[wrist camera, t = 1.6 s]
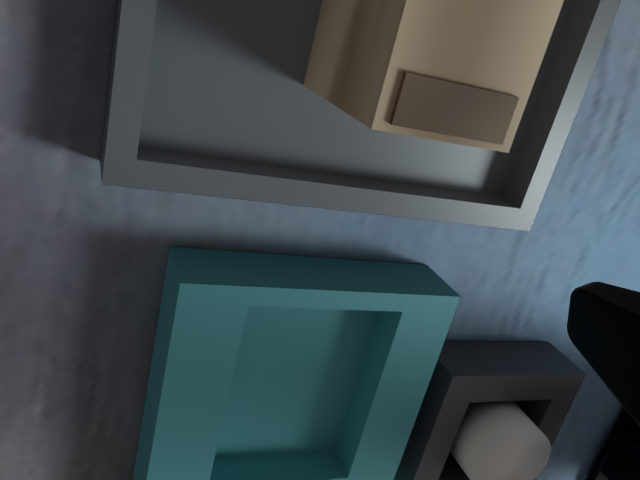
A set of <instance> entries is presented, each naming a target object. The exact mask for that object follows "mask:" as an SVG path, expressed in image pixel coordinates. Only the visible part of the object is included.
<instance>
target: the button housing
mask: <svg viewBox="0 0 640 480" xmlns="http://www.w3.org/2000/svg"><path fill="white" fill-rule="evenodd" d="M585 375H586V374H585V373H584V372H583V371H581V370H580V369H579V368H578V367H577V366H576V365H574V364H573V363H572V362H571V361H570V360H569V359H567V358H566V357H565V356H564V355H563V354H562V353H560V352H559V351H558V350H557V349H556V348H555V347H554V346H552V345H551V344H550V343H549V342H530V341H449V340H445V341H444V344H443V347H442V349H441V352H440V355H439V358H438V360H437V363H436V366H435V368H434V371H433V374H432V377H431V379H430V382H429V385H428V387H427V390H426V393H425V396H424V398H423V401H422V404H421V407H420V409H419V412H418V415H417V417H416V420H415V423H414V426H413V428H412V431H411V434H410V437H409V439H408V442H407V445H406V447H405V450H404V453H403V456H402V458H401V461H400V464H399V466H398V469H397V472H396V475H395V477H394V480H470V479H469V478H468V476H467V475H466V474H465V472H464V471H463V469H462V468H461V467H460V465H459V464H458V462H457V461H456V460H455V458H454V457H453V455H452V454H451V453H450V450H451V447H452V445H453V442H454V440H455V437H456V435H457V432H458V430H459V427H460V425H461V422H462V420H463V417H464V415H465V412H466V410H467V407H468V405H469V403H472V402H497V401H514V403H515V404H516V405H517V406H518V407H519V408H520V409H521V410H522V411H523V412H524V413H525V414H526V415H527V416H528V417H529V419H530V420H531V421H532V422H533V423H534V424H535V425H536V426H537V427H538V428H539V429H540V430H541V431H542V432H543V433H544V435H545V436H546V437H547V438H548V439H549V441H550V444H551V446H552V444H553V442H554V440H555V438H556V435H557V433H558V431H559V429H560V427H561V425H562V423H563V421H564V419H565V417H566V415H567V413H568V410H569V408H570V406H571V404H572V402H573V400H574V398H575V396H576V394H577V392H578V390H579V387H580V385H581V383H582V381H583V379H584V377H585Z"/></svg>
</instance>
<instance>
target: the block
mask: <svg viewBox="0 0 640 480" xmlns="http://www.w3.org/2000/svg"><path fill="white" fill-rule="evenodd" d="M563 2H564V0H322V5H321V9H320V14H319V18H318V22H317V27H316V31H315V36H314V40H313V45H312V49H311V54H310V58H309V62H308V67H307V71H306V76H305V80H304V86H305V87H307V88H309V89H310V90H312V91H313V92H315V93H316V94H318V95H319V96H321V97H322V98H324V99H326V100H327V101H329V102H330V103H332V104H333V105H335V106H336V107H338V108H339V109H341V110H342V111H344V112H346V113H347V114H349V115H350V116H352V117H353V118H355V119H356V120H358V121H359V122H361V123H363V124H364V125H366V126H367V127H369V128H370V129H373V130H379V131H385V132H390V133H396V134H402V135H408V136H413V137H419V138H425V139H431V140H436V141H442V142H448V143H454V144H459V145H465V146H471V147H477V148H482V149H488V150H494V151H500V152H506V153H509V150H510V148H511V145H512V142H513V139H514V137H515V134H516V131H517V128H518V126H519V123H520V120H521V117H522V115H523V112H524V109H525V106H526V104H527V101H528V98H529V95H530V93H531V90H532V87H533V84H534V82H535V79H536V76H537V73H538V71H539V68H540V65H541V62H542V60H543V57H544V54H545V52H546V49H547V46H548V43H549V41H550V38H551V35H552V32H553V30H554V27H555V24H556V21H557V19H558V16H559V13H560V10H561V8H562V5H563Z"/></svg>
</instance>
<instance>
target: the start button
mask: <svg viewBox="0 0 640 480" xmlns="http://www.w3.org/2000/svg"><path fill="white" fill-rule="evenodd" d="M450 453H451V454H452V455H453V457H454V458H455V460H456V461H457V462H458V464H459V465H460V467H461V468H462V469H463V471H464V472H465V474H466V475H467V476H468V478H469V479H470V480H535V479H536V478H537V477H538V476H539V475H540V474H541V472H542V471H543V469H544V468H545V466H546V464H547V462H548V460H549V457H550V453H551V444H550V441H549V439H548V438H547V437H546V436H545V435H544V433H543V432H542V431H541V430H540V429H539V428H538V427H537V426H536V425H535V424H534V423H533V422H532V421H531V420H530V419H529V417H528V416H527V415H526V414H525V413H524V412H523V411H522V410H521V409H520V408H519V407H518V406H517V405H516V404H515V403H514V401H497V402H472V403H469V405H468V407H467V410H466V412H465V415H464V417H463V420H462V422H461V425H460V427H459V430H458V432H457V435H456V437H455V440H454V442H453V445H452V447H451V450H450Z"/></svg>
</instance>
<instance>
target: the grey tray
mask: <svg viewBox="0 0 640 480" xmlns="http://www.w3.org/2000/svg"><path fill="white" fill-rule="evenodd" d="M620 2H621V0H564V2H563V5H562V8H561V10H560V13H559V16H558V19H557V21H556V24H555V27H554V30H553V32H552V35H551V38H550V41H549V43H548V46H547V49H546V52H545V54H544V57H543V60H542V62H541V65H540V68H539V71H538V73H537V76H536V79H535V82H534V84H533V87H532V90H531V93H530V95H529V98H528V101H527V104H526V106H525V109H524V112H523V115H522V117H521V120H520V123H519V126H518V128H517V131H516V134H515V137H514V139H513V142H512V145H511V148H510V150H509V153H506V152H500V151H494V150H488V149H482V148H477V147H471V146H465V145H459V144H454V143H448V142H442V141H436V140H431V139H425V138H419V137H413V136H408V135H402V134H396V133H390V132H385V131H379V130H373V129H370V128H369V127H367V126H366V125H364V124H363V123H361V122H359V121H358V120H356V119H355V118H353V117H352V116H350V115H349V114H347V113H346V112H344V111H342V110H341V109H339V108H338V107H336V106H335V105H333V104H332V103H330V102H329V101H327V100H326V99H324V98H322V97H321V96H319V95H318V94H316V93H315V92H313V91H312V90H310V89H309V88H307V87H305V86H304V80H305V76H306V71H307V67H308V62H309V58H310V54H311V49H312V45H313V40H314V36H315V31H316V27H317V22H318V18H319V14H320V9H321V5H322V0H117V8H116V18H115V27H114V36H113V46H112V55H111V64H110V73H109V83H108V92H107V101H106V111H105V120H104V129H103V139H102V148H101V157H100V167H101V180H102V184H103V185H112V186H122V187H131V188H140V189H149V190H158V191H167V192H177V193H186V194H195V195H204V196H213V197H223V198H232V199H241V200H250V201H259V202H269V203H278V204H287V205H296V206H305V207H314V208H324V209H333V210H342V211H351V212H360V213H370V214H379V215H388V216H397V217H406V218H416V219H425V220H434V221H443V222H452V223H461V224H471V225H480V226H489V227H498V228H507V229H517V230H526V231H530V229H531V226H532V224H533V221H534V219H535V216H536V214H537V211H538V209H539V206H540V204H541V201H542V199H543V196H544V194H545V191H546V189H547V186H548V183H549V181H550V178H551V176H552V173H553V171H554V168H555V166H556V163H557V161H558V158H559V156H560V153H561V151H562V148H563V146H564V143H565V141H566V138H567V136H568V133H569V131H570V128H571V125H572V123H573V120H574V118H575V115H576V113H577V110H578V108H579V105H580V103H581V100H582V98H583V95H584V93H585V90H586V88H587V85H588V83H589V80H590V78H591V75H592V73H593V70H594V68H595V65H596V62H597V60H598V57H599V55H600V52H601V50H602V47H603V45H604V42H605V40H606V37H607V35H608V32H609V30H610V27H611V25H612V22H613V20H614V17H615V15H616V12H617V10H618V7H619V4H620Z"/></svg>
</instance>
